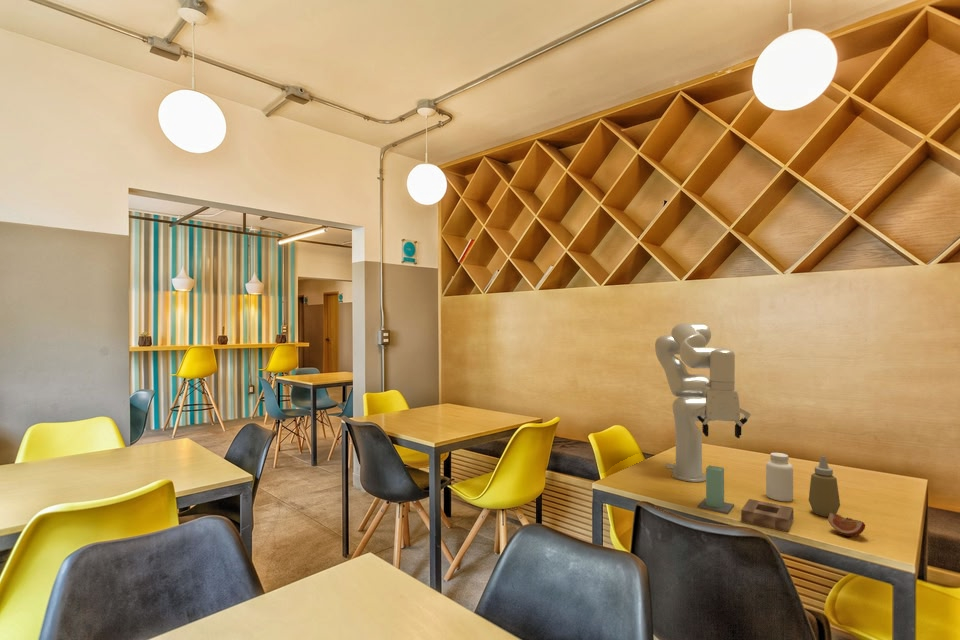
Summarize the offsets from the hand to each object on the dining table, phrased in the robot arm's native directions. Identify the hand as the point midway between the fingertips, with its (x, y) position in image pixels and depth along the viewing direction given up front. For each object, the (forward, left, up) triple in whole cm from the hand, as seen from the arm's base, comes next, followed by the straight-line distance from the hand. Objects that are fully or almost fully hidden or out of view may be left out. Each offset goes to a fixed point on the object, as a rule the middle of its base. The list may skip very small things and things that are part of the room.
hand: (721, 436), depth 160 cm
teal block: (-1, -6, -22) cm, 22 cm away
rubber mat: (-1, -6, -22) cm, 23 cm away
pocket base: (+14, -8, -22) cm, 27 cm away
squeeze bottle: (+27, +9, -22) cm, 36 cm away
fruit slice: (+33, -5, -22) cm, 40 cm away
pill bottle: (+14, +17, -22) cm, 31 cm away
